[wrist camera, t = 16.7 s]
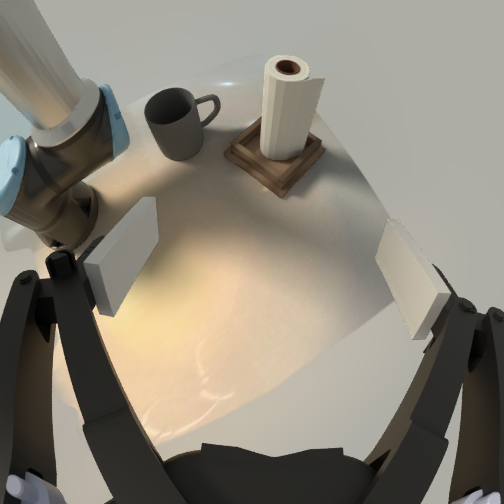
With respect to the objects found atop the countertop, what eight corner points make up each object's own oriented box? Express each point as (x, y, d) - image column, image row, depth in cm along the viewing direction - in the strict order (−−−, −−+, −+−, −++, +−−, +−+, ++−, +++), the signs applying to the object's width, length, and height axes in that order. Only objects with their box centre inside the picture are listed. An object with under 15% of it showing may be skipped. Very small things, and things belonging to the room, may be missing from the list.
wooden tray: (224, 155, 54) (222, 144, 50) (270, 114, 56) (271, 102, 52) (281, 198, 52) (283, 189, 48) (324, 151, 54) (329, 140, 51)
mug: (168, 169, 53) (151, 134, 42) (155, 136, 55) (138, 100, 43) (232, 141, 55) (228, 101, 43) (214, 111, 56) (208, 71, 45)
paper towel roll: (253, 144, 53) (255, 62, 33) (278, 131, 54) (290, 49, 33) (276, 171, 52) (290, 91, 31) (301, 156, 53) (325, 77, 32)
